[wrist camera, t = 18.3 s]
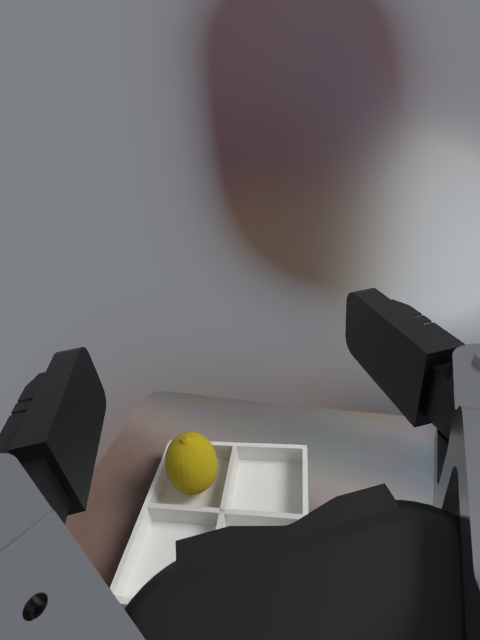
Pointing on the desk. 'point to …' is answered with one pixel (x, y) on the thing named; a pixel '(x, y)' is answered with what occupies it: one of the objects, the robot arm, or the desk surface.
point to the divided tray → (214, 506)
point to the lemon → (191, 463)
